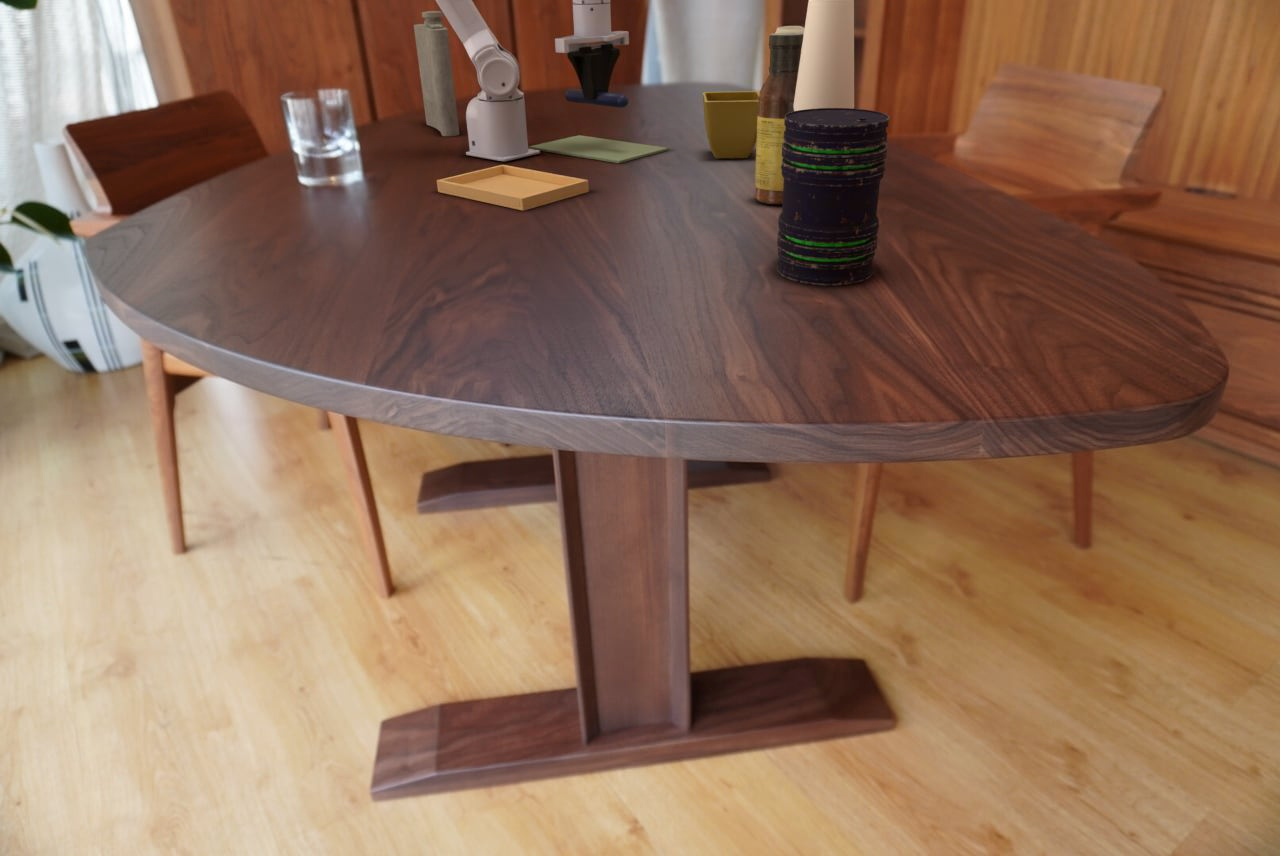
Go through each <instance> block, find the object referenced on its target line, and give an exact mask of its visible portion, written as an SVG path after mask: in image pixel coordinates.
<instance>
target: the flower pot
mask: <svg viewBox="0 0 1280 856" xmlns="http://www.w3.org/2000/svg"><path fill="white" fill-rule="evenodd" d="M759 94H760V91H753V90H751V91H749V90H748V91H746V90H745V91H705V92H703V93H702V104H703V116H704V117H703V119H704V127H705V132H706V136H707V141H708V145H709V148H710V151H711V153H712V155H713V157H714V158H715V159H718V160H722V159H748V158H749V157H750V155H751V153H752V152H753V150H754V148H755V147H756V142H757V116H758V114H759Z"/></svg>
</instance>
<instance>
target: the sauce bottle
mask: <svg viewBox="0 0 1280 856" xmlns="http://www.w3.org/2000/svg"><path fill="white" fill-rule="evenodd" d="M768 37H769V38H768V49H769V67H768V72H769V75H768V76H767V78H766V80H765V82H764V83H762V86H761V88H760V90H759V93H760V94H759V114H758V116H757V141H756V143H755V169H754V171H755V173H754V174H755V175H754V187H755V192H754V193H755V194H754V196H755V199H756V200H757V201H758V202H759V203H762V204H766V205H781V206H782V205H783V186H784V178H783V176H782V169H781V166H782V159H783V157H782V144H783V143H784V131H785V130H786V126H785V125H784V121H785V115H786V114H788V113H790V112H794V107H793V105H794V98H795V91H796V84H797V77H798V70H799V63H800V57H801V48H802V43H803V34H802V33H775V32H774V33H770V34H769V35H768Z"/></svg>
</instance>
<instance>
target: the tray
mask: <svg viewBox="0 0 1280 856" xmlns="http://www.w3.org/2000/svg"><path fill="white" fill-rule="evenodd" d="M436 186H437V192H438V193H442V194H444V195H445V194H446V195H450V196H455V197H459V198H464V199H468V200H473V201H478V202H483V203H486V204H491V205H496V206H500V207H506V208H509V209H514V210H518V211H522V212H524V211H527V210H531V209H534V208H538V207H541V206H545V205H548V204H551V203H555V202H559V201H562V200H566V199H568V198H572V197H575V196H576V197H577V196H580V195H582V194H586V193H589V192H590V187H589V180H588V179H585V178H578V177H574V176H573V177H572V176H568V175H563V174H562V175H561V174H556V173H551V172H546V171H539V170H535V169H529V168H524V167H519V166H518V167H517V166H512V165H506V164H500V165H496V166H491V167H487V168H482V169H478V170H474V171H470V172H466V173H462V174H458V175H454V176H453V175H452V176H450V177H444V178H440V179H436Z"/></svg>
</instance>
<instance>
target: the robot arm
mask: <svg viewBox="0 0 1280 856" xmlns="http://www.w3.org/2000/svg"><path fill="white" fill-rule="evenodd" d="M435 2H436V3H437V5H438V7H439V8H440V10H441V12H442V13H443V16H445V18H446V20H447V22H448V23H449V24H450V27H452V29H453V31H454V32H455V33H456V35H457V37H458V38H459V40H460V42H461V43H462V44H463V47H464V49H465V51H466V53H467V55H468V57H469V59H470V61H471V62H472V64H473V66H474V67H475V70H476V76H477V82H478V84H479V87H480V88H481V91H480V92H478V93H477V96H475V97H473V98H472V99H471V100H470V101H469V102H468V104H467V107H466V111H465V120H466V129H467V138H468V148H469V150H468V151H466V152H465V155H466V156H469V157H470V156H471V157H475V158H481V159H487V160H492V161H498V162H503V163H504V162H509V161H513V160H518V159H522V158H526V157H527V158H528V157H531V156H535V155H540V154H541V151H540V150H534V149H529V141H528V128H527V127H528V126H527V115H526V103H525V93H524V92H523V91H521V89H519V88H518V87H519V85H520V81H521V77H520V65H519V62H518V59H517V57H515V55H514V54H512V52H510V51H509V50H507V49H505V48H504V47H503V46H502V45H501V44H500V42H499V40H498V39H497V37H496V36H495V35H494V33H493V32H492V30H491V29H490V28H489V26H488V24H487V22H486V21H485V19H484V18H483V16H482V14H481V13H480V11H479V9H478V8H477V6H476V5H475V3H474V1H473V0H435ZM611 11H612V10H611V0H572V18H573V35H567V36H564V37H557V38H555V39H554V48H555V53H557V54H558V53H561V54H567V57H566V58H567V59H568V61H569V62H570V64H571V65H572V67H573V69H574V71H575V74H576V75H577V78H578V81H579V86H580V88H581V90H582V92H583V95H584V99H591V100H594V99H596V97H597V91H598V92H608V93H609V90H610V89H609V88H610V83H611V78H612V75H613V71H614V69H615V66H616V63H617V62H618V60H619V58H620V56H621V49H620V48H619V47H615V46H626V45H627V46H628V45H630V36H629V34H630V33H629V31H627V30H626V31H625V30H615V31H612V15H611ZM592 43H593V44H592Z"/></svg>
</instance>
